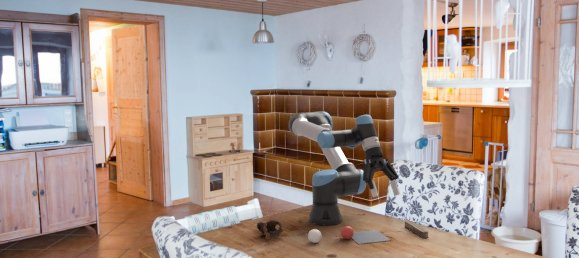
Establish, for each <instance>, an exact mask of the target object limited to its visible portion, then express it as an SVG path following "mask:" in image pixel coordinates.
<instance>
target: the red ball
mask: <svg viewBox="0 0 579 258" xmlns="http://www.w3.org/2000/svg"><path fill="white" fill-rule="evenodd" d="M354 232H355V230H354V228H352V227H351V226H348V225H345V226H343V227H342V228H341V230H340V236H341V238H343V239H344V240H351V239H352V237H353V236H354Z"/></svg>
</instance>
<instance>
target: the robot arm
mask: <svg viewBox="0 0 579 258" xmlns="http://www.w3.org/2000/svg"><path fill="white" fill-rule="evenodd" d="M354 123H355V127H353V128H351V129H343V130H342V129H341V130H333V128H334V126H333V125H334V123H333V118H332V116H331V115H330V113H328V112H327V111H321V110H319V111H307V112H297V113H295V114H293V115H292V116H291V117H290V118H289V121H288V129H289V131H290V132H291V134H293V135H295V136H296V137H302V136H303V137H305V138H306V139H310V140H312V141H314V142H317V145H318V146H319V148H320V149H321V151H322V152H323V154H324V156H325V158H326V159H327V162H328V164H329V165H330V167H331V169H330V168H329V169H322V170H318V171H315V172H314V173H313V175H312V178H311V180H312V181H311V186H312V188H311V190H312V191H311V192H312V205H311V209H310V214H309V216H308V217H309V218H308V219H309V220H308V221H309V222H310V223H311V224H314V225H317V226H333V225H338V224H340V223H341V222H342V221H343V219H342V218H343V217H342V213H341V211H340V210H341V209H340V207H339V203H338V201H339V198H343V197H349V196H357V195H360V194H362V193H364V191H366V187H367V185H368V188H369V190H370V192H371V196H372V197H371V198H376V197H378V196H379V192H378V189H377V186H376V183H375V180H373V179H374V176H375V172H376V170H378V171H381V172H383V174H384V175H385V176H386V177H387V178H388V179H389V180H390V181H389V184H390V186H391V190H392V193H393V196H394V197H396V196H399V195H401V193H400V190H399V185H398V182H397V180H398V179H399V177H400V176H399V174H398V173H397V172H396V169H394V166H393V165H392V164H391V162H390V160H389V158H383V156H384V153H383V149H382V147H381V143H380V141H379V137H378V133H377V130H376V126H375V123H374V121H373V118H372V116H371V115H369V114H363V115H362V114H361V115H359V116H358V117H356V118H355V122H354ZM360 145H362V149H363V151H364V153H363V154H364V155H365V159H364V160H362V162H363V169H360V168H358V169H357V168H356V166H355V165H354V163H352V162H349V161H348V158H347V157H346V156H345V154H344V152H343V150H342V148H343V147H346V148H348V149H351V150H353V149H355V148H357V147H359V146H360Z"/></svg>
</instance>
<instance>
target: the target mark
mask: <svg viewBox="0 0 579 258" xmlns="http://www.w3.org/2000/svg"><path fill="white" fill-rule="evenodd" d="M351 239H352V240H353V241H354V242H355V243H356V244H357V245H362V244H373V243H382V242H383V243H384V242H391V239H390V238H389V237H387V236H385V235H384V234H383V233H382V232H380V231H379V230H377V229H372V230H371V229H370V230H363V231H361V230H360V231H354V236H353V237H352V238H351Z"/></svg>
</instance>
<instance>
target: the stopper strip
mask: <svg viewBox="0 0 579 258" xmlns="http://www.w3.org/2000/svg"><path fill="white" fill-rule="evenodd" d="M404 227H405V228H406V229H408V230H409V231H411V232H412V233H414V234H416V235H418V237H420V238H422V239H427V238H429V231H428V230H426V229H425V228H423V227H421V226H419V225H417V224H416V223H414V222H413V221H411V220H404Z"/></svg>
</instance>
